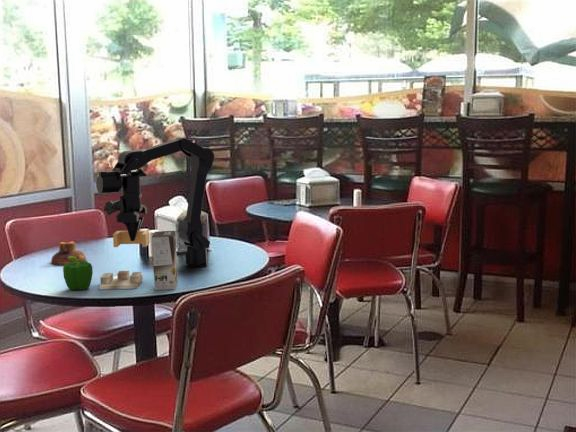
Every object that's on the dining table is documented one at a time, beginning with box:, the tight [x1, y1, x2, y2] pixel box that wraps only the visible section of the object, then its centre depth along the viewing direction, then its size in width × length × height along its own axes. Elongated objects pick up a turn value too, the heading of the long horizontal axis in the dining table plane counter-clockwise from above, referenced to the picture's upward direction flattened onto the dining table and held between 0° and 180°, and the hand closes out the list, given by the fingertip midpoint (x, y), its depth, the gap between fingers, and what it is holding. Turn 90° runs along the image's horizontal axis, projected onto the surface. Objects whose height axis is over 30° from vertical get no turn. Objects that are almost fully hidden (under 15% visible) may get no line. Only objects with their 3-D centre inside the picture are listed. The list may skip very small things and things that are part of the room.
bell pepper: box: [62, 256, 94, 291], centre depth 211 cm, size 8×8×10 cm
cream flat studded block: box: [99, 270, 144, 290], centre depth 216 cm, size 11×12×3 cm
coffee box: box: [151, 230, 179, 291], centre depth 212 cm, size 9×6×16 cm
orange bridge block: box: [112, 229, 151, 248], centre depth 222 cm, size 10×7×4 cm, turn 91°
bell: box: [50, 240, 87, 266], centre depth 247 cm, size 12×12×7 cm
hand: (133, 240), depth 225 cm, fingers closed on orange bridge block, 2 cm apart
